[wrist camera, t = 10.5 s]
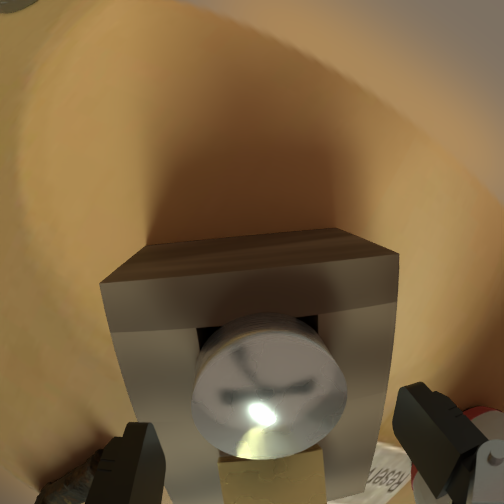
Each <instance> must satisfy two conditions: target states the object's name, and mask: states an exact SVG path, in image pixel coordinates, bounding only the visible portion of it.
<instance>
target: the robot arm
mask: <svg viewBox="0 0 504 504" xmlns="http://www.w3.org/2000/svg"><path fill="white" fill-rule="evenodd" d="M35 1H37V0H0V13H12V12H16V11H18V10H21V9H23V8H25V7H27V6H29V5H31V4H32V3H34V2H35ZM392 425H393V431H394V434H395V436H396V438H397V439H398V441H399V442H400V444H401V445H402V447H403V448H404V450H405V451H406V453H407V455H408V456H409V458H410V459H411V461H412V462H413V464H414V465H415V467H416V469H417V470H418V472H419V473H420V475H421V476H422V478H423V480H424V481H425V483H426V484H427V486H428V487H429V489H430V491H431V492H432V494H433V495H434V497H435V498H436V499H439V498H441V497H443V496H445V495H447V494H448V495H449V497H450V498H451V499H450V501H449V503H448V504H504V440H498V439H495V440H488V439H487V438H486V436H485V435H484V434H483V433H482V432H481V431H480V430H479V429H478V428H477V427H476V426H475V425H474V424H473V423H472V422H471V420H470V419H469V418H468V417H467V416H466V415H463V412H462V411H461V410H460V409H459V408H457V406H456V405H455V404H454V403H453V402H452V401H451V399H450V398H449V397H447V396H445V395H443V394H441V393H439V392H437V391H434V392H432V391H431V390H430V389H429V388H428V387H427V386H426V385H425V384H424V383H423V382H417V383H414V384H411V385H407V386H404V387H401V388H400V389H399V392H398V396H397V401H396V406H395V411H394V416H393V421H392ZM165 473H166V460H165V455H164V452H163V449H162V447H161V444H160V441H159V439H158V436H157V433H156V431H155V428H154V425H153V424H152V423H150V422H129V423H128V424H127V425H126V428H125V431H124V434H123V437H114V438H113V439H112V440H111V441H110V442H109V443H108V444H107V445H106V446H105V448H104V450H103V453H102V456H101V461H99V464H98V467H97V471H96V473H95V475H94V478H93V481H92V484H91V487H90V490H89V493H88V496H87V499H86V502H85V504H161V501H162V494H163V486H164V479H165Z"/></svg>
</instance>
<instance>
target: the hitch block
mask: <svg viewBox="0 0 504 504" xmlns="http://www.w3.org/2000/svg"><path fill="white" fill-rule="evenodd" d="M398 279H399V253H396V252H394V251H392V250H389V249H387V248H385V247H382V246H380V245H377V244H375V243H373V242H370V241H368V240H365V239H363V238H360V237H358V236H356V235H353V234H351V233H348V232H346V231H343V230H341V229H338V228H328V229H316V230H305V231H293V232H282V233H271V234H260V235H249V236H238V237H228V238H217V239H207V240H197V241H187V242H177V243H167V244H158V245H148V246H145V247H143V248H142V249H141V250H140V251H138V252H137V253H136V254H135V255H133V256H132V257H131V258H130V259H128V260H127V261H126V262H125V263H123V264H122V265H121V266H120V267H119V268H117V269H116V270H115V271H114V272H112V273H111V274H110V275H109V276H108V277H106V278H105V279H104V280H103V281H102V282H100V283H99V285H100V290H101V295H102V299H103V304H104V308H105V313H106V317H107V321H108V325H109V329H110V333H111V337H112V341H113V345H114V348H115V352H116V356H117V359H118V363H119V366H120V369H121V373H122V376H123V379H124V382H125V386H126V389H127V392H128V395H129V398H130V401H131V404H132V407H133V409H134V412H135V415H136V418H137V421H138V422H150V423H152V424H153V425H154V428H155V431H156V433H157V436H158V439H159V441H160V444H161V447H162V449H163V452H164V455H165V460H166V473H165V479H164V486H165V488H166V490H167V492H168V494H169V496H170V498H171V500H172V502H173V504H224V501H223V495H222V490H221V483H220V477H219V471H218V465H217V462H218V458H219V457H226V456H233V455H230V454H228V453H225V452H223V451H221V450H219V449H218V448H216V447H214V446H213V445H212V444H210V443H209V442H208V441H207V440H206V439H205V438H204V437H203V436H202V435H201V433H200V432H199V431H198V429H197V427H196V425H195V423H194V420H193V417H192V411H191V401H192V393H193V385H194V377H195V370H196V363H197V358H198V356H199V353H200V350H201V349H202V347H203V345H204V343H205V342H206V341H207V340H208V338H209V337H210V336H211V335H212V334H213V333H214V329H213V326H223V325H225V324H226V323H228V322H230V321H232V320H234V319H236V318H239V317H242V316H245V315H249V314H255V313H265V312H270V313H280V314H285V315H289V316H292V317H295V318H297V319H299V320H301V321H303V322H305V323H306V324H308V325H309V326H310V327H311V328H313V329H314V330H315V331H316V332H317V334H318V335H319V336H320V337H321V339H322V341H323V342H324V344H325V345H326V347H327V349H328V350H329V352H330V353H331V355H332V357H333V358H334V360H335V361H336V363H337V365H338V366H339V368H340V370H341V371H342V373H343V375H344V378H345V381H346V385H347V401H346V406H345V409H344V412H343V414H342V416H341V418H340V420H339V421H338V423H337V424H336V425H335V427H334V428H333V429H332V430H331V431H330V432H329V433H328V434H327V435H326V436H325V437H324V438H323V439H321V440H320V441H319V442H317V443H316V444H314V445H317V444H318V445H319V446H320V447H321V448H322V450H323V461H324V473H325V486H326V500H327V501H331V500H335V499H340V498H344V497H347V496H351V495H355V494H359V493H362V492H364V490H365V486H366V483H367V479H368V476H369V472H370V468H371V464H372V460H373V456H374V452H375V448H376V444H377V439H378V435H379V430H380V425H381V420H382V415H383V410H384V404H385V399H386V393H387V387H388V380H389V374H390V367H391V359H392V351H393V343H394V333H395V323H396V311H397V297H398Z"/></svg>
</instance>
